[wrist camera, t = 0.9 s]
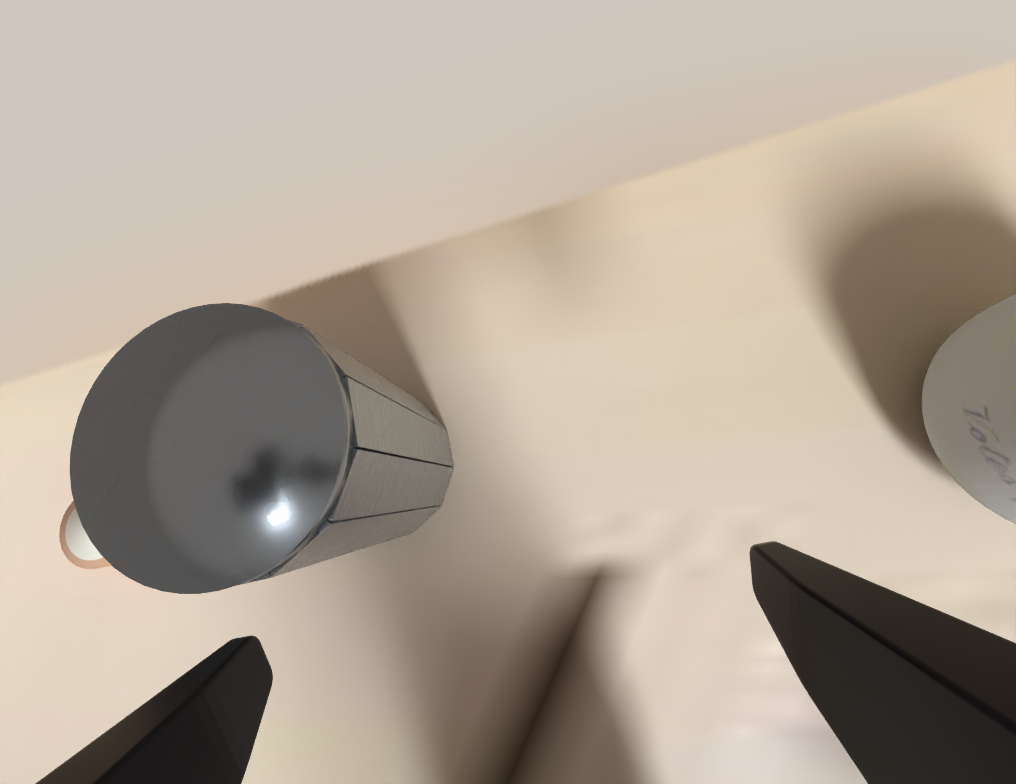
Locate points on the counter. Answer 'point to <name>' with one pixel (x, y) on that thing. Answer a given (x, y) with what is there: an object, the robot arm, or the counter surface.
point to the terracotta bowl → (79, 542)
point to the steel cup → (247, 452)
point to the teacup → (977, 407)
